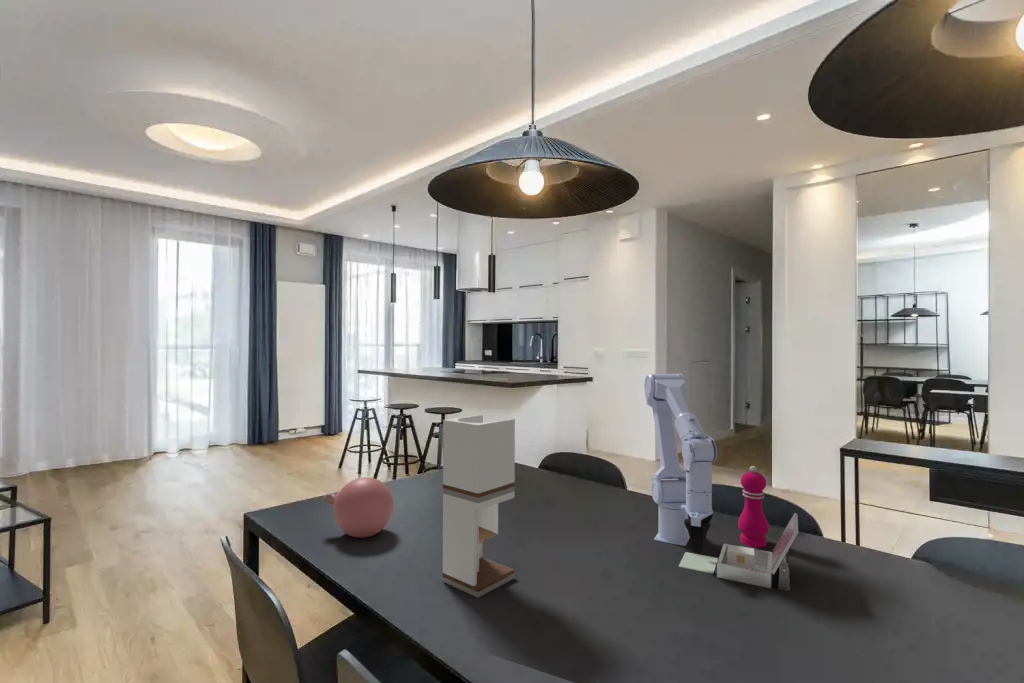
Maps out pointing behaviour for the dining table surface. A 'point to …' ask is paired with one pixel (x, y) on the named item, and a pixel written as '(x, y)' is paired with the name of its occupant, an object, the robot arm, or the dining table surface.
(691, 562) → the pad
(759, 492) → the pepper mill
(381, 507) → the round balloon
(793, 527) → the lid
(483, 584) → the display case
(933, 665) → the dining table surface
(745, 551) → the block
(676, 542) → the robot arm
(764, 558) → the case
